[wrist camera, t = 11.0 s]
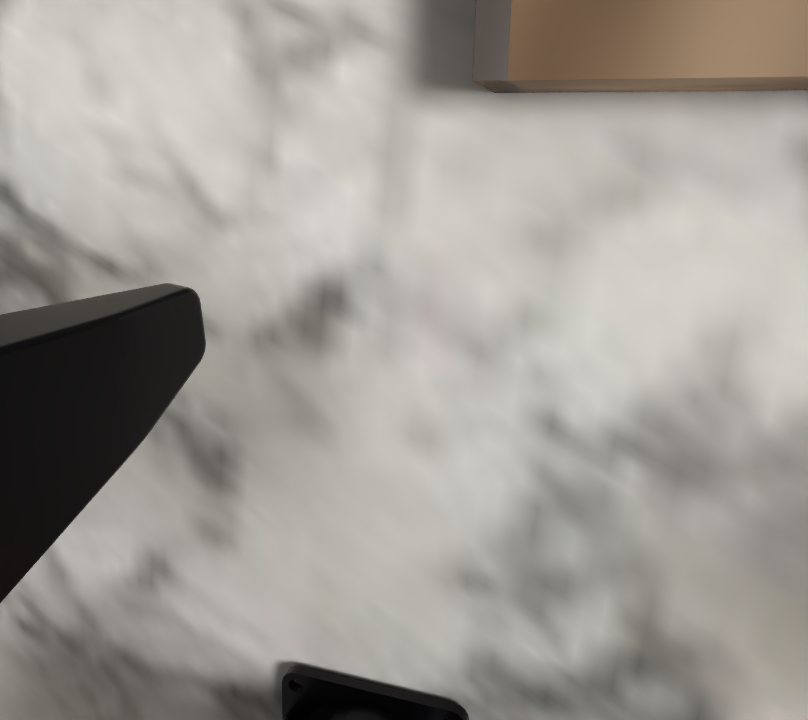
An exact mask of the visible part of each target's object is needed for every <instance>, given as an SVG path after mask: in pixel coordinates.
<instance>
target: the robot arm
mask: <svg viewBox="0 0 808 720" xmlns="http://www.w3.org/2000/svg"><path fill="white" fill-rule="evenodd" d="M205 346H206V340H205V332H204V325H203V318H202V311H201V303H200V299H199V296H198V294H197V293H196V292H195V291H194V290H193V289H191V288H188V287H184V286H179V285H175V284H170V283H166V284H160V285H154V286H149V287H144V288H139V289H133V290H128V291H123V292H118V293H112V294H107V295H102V296H97V297H92V298H86V299H81V300H76V301H71V302H65V303H60V304H55V305H50V306H44V307H39V308H34V309H29V310H23V311H18V312H13V313H8V314H3V315H0V603H1V602H2V601H3V599H4V598H5V597H6V596H7V595H8V594H9V593H10V591H11V590H12V589H13V588H14V587H15V586H16V585H17V584H18V582H19V581H20V580H21V579H22V578H23V577H24V576H25V574H26V573H27V572H28V571H29V570H30V569H31V568H32V567H33V565H34V564H35V563H36V562H37V561H38V560H39V559H40V557H41V556H42V555H43V554H44V553H45V552H46V551H47V550H48V548H49V547H50V546H51V545H52V544H53V543H54V542H55V540H56V539H57V538H58V537H59V536H60V535H61V534H62V533H63V531H64V530H65V529H66V528H67V527H68V526H69V525H70V523H71V522H72V521H73V520H74V519H75V518H76V517H77V515H78V514H79V513H80V512H81V511H82V510H83V509H84V508H85V506H86V505H87V504H88V503H89V502H90V501H91V500H92V498H93V497H94V496H95V495H96V494H97V493H98V492H99V491H100V489H101V488H102V487H103V486H104V485H105V484H106V483H107V481H108V480H109V479H110V478H111V477H112V476H113V475H114V474H115V472H116V471H117V470H118V469H119V468H120V467H121V466H122V464H123V463H124V462H125V461H126V460H127V459H128V458H129V456H130V455H131V454H132V453H133V452H134V451H135V450H136V448H137V447H138V446H139V445H140V444H141V442H142V441H143V440H144V439H145V437H146V436H147V435H148V433H149V432H150V431H151V429H152V428H153V427H154V425H155V424H156V423H157V421H158V420H159V418H160V417H161V416H162V414H163V413H164V411H165V410H166V409H167V407H168V406H169V404H170V403H171V402H172V400H173V399H174V397H175V396H176V395H177V393H178V392H179V390H180V389H181V388H182V386H183V385H184V383H185V382H186V381H187V379H188V378H189V376H190V375H191V374H192V372H193V371H194V369H195V368H196V367H197V365H198V364H199V362H200V361H201V359H202V357H203V355H204V352H205ZM294 679H296V680H298V681H299V682H300V683H301V685H299V684H297V683H296V682H295V680H294ZM282 711H283V720H448V719H447V718H453V719H455V720H469V717H468V714H467V712H466V710H465V709H464V708H462V707H461V706H460V705H457V704H455V703H451V702H447V701H443V700H439V699H435V698H430V697H426V696H422V695H418V694H414V693H410V692H405V691H401V690H397V689H393V688H389V687H385V686H380V685H376V684H372V683H368V682H364V681H360V680H356V679H351V678H347V677H343V676H339V675H335V674H331V673H326V672H322V671H318V670H314V669H310V668H306V667H301V666H294V667H291V668H290V670H289V671H288V672H287V673H286V675H285V676H284V677H283V681H282Z"/></svg>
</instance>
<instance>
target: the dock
mask: <svg viewBox="0 0 808 720" xmlns="http://www.w3.org/2000/svg"><path fill="white" fill-rule="evenodd" d="M473 81H475V82H476V83H478V84H480V85H482V86H484V87H486V88H487V89H489V90H491V91H493V92H495V93H511V92H632V91H753V90H808V0H476V14H475V37H474V59H473Z"/></svg>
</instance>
